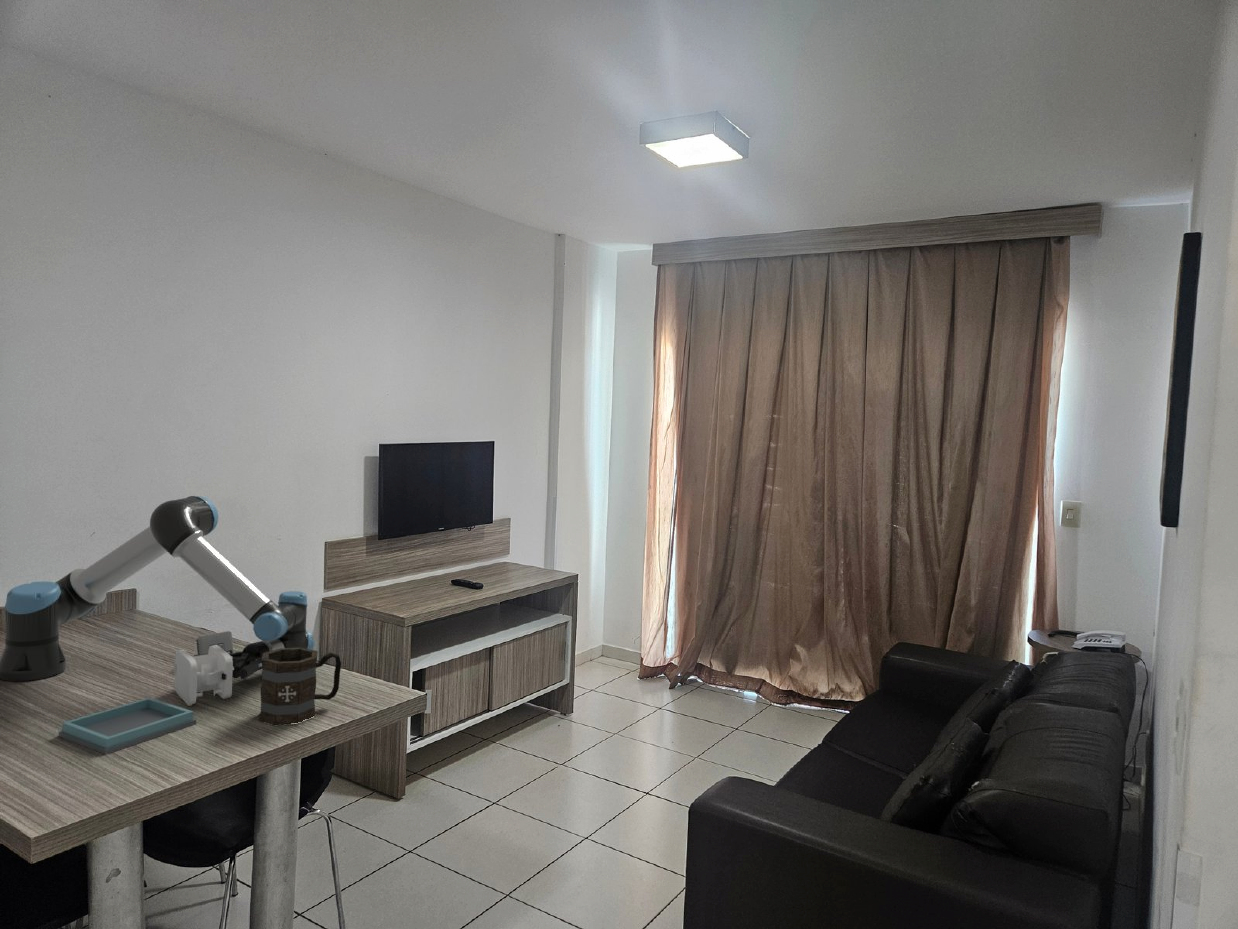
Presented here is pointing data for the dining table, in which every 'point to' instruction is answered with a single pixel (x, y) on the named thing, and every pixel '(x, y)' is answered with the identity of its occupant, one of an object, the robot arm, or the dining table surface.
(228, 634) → the electrical switch
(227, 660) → the white spool piece
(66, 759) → the dining table surface
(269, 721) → the mug
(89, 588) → the robot arm
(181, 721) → the teal tray
